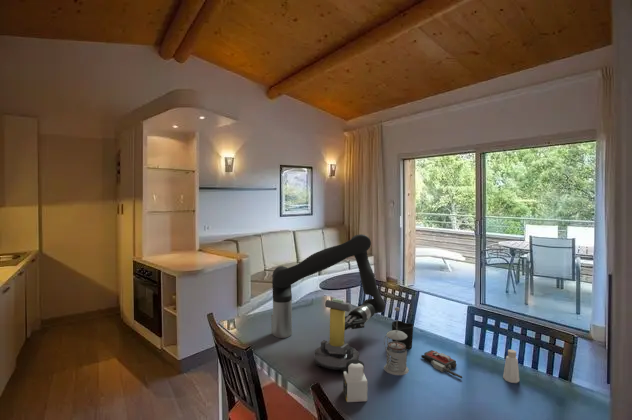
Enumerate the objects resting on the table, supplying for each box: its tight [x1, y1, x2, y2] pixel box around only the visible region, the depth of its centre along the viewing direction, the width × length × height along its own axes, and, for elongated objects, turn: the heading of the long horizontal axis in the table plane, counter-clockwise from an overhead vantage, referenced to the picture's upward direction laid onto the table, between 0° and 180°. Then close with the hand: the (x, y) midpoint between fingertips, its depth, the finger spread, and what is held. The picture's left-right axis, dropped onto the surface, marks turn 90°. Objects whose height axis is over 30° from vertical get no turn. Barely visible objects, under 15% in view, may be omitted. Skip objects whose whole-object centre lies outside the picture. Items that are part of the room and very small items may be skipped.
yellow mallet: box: [324, 298, 351, 355], centre depth 144 cm, size 10×6×22 cm, turn 58°
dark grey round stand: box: [314, 339, 360, 375], centre depth 144 cm, size 18×18×8 cm
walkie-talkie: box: [420, 349, 463, 379], centre depth 142 cm, size 9×4×20 cm
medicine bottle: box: [342, 359, 368, 403], centre depth 122 cm, size 7×7×12 cm
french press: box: [383, 306, 410, 376], centre depth 141 cm, size 10×12×25 cm
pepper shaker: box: [502, 349, 520, 384], centre depth 133 cm, size 5×5×11 cm
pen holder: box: [391, 320, 414, 351], centre depth 161 cm, size 9×9×10 cm
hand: (341, 328), depth 147 cm, fingers closed
